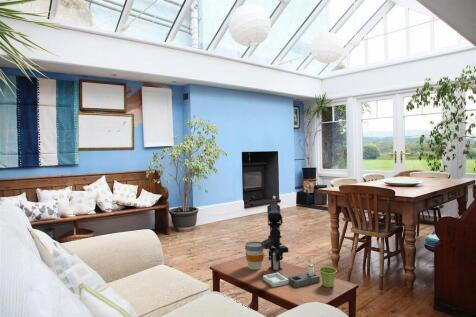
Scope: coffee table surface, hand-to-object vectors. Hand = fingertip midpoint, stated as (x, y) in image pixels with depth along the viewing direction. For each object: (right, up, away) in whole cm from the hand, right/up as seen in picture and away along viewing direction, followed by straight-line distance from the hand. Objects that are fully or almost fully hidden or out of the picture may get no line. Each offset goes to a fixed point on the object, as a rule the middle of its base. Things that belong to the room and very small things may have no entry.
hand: (275, 260), depth 179 cm
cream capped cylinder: (0, -5, 0) cm, 4 cm away
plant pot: (+28, -11, -7) cm, 31 cm away
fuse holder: (+16, -12, -1) cm, 20 cm away
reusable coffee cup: (-10, -12, +24) cm, 29 cm away
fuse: (+21, -11, +1) cm, 23 cm away
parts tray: (0, -12, 0) cm, 12 cm away
